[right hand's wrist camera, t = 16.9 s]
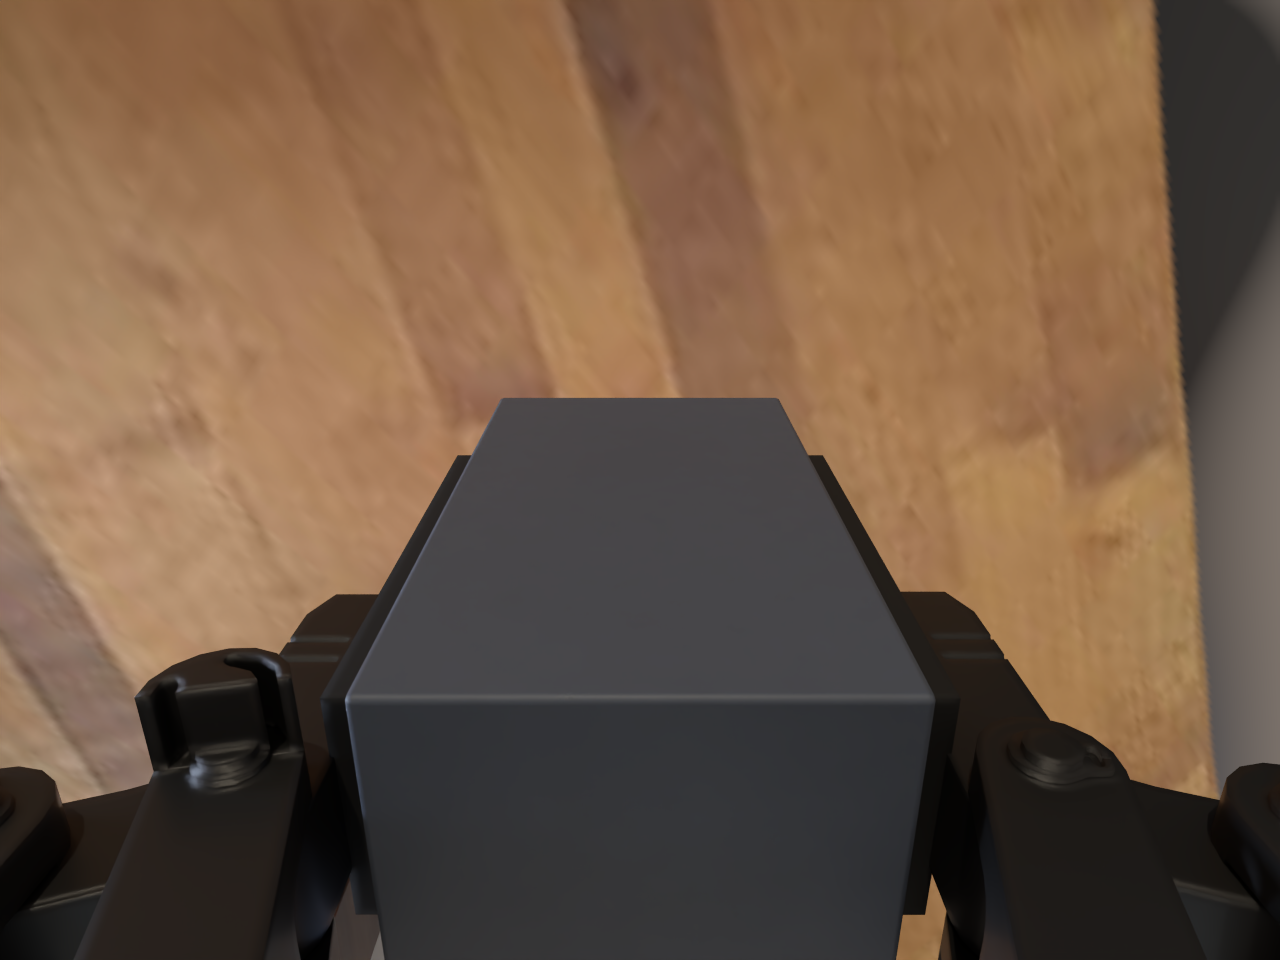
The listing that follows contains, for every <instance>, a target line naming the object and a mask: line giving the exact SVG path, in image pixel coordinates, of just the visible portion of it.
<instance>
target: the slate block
mask: <svg viewBox="0 0 1280 960" xmlns="http://www.w3.org/2000/svg"><path fill="white" fill-rule="evenodd" d="M935 701H936V699H935V696H934V694H933V692H932V690H931V688H930V686H929V684H928V682H927V680H926V679H925V677H924V675H923V673H922V671H921V669H920V667H919V665H918V663H917V661H916V660H915V658H914V656H913V654H912V652H911V650H910V648H909V646H908V644H907V642H906V641H905V639H904V637H903V635H902V633H901V631H900V629H899V627H898V625H897V623H896V622H895V620H894V618H893V616H892V614H891V612H890V610H889V608H888V606H887V604H886V603H885V601H884V599H883V597H882V595H881V593H880V591H879V589H878V587H877V585H876V584H875V582H874V580H873V578H872V576H871V574H870V572H869V570H868V568H867V566H866V565H865V563H864V561H863V559H862V557H861V555H860V553H859V551H858V549H857V547H856V546H855V544H854V542H853V540H852V538H851V536H850V534H849V532H848V530H847V528H846V527H845V525H844V523H843V521H842V519H841V517H840V515H839V513H838V511H837V509H836V508H835V506H834V504H833V502H832V500H831V498H830V496H829V494H828V492H827V490H826V489H825V487H824V485H823V483H822V481H821V479H820V477H819V475H818V473H817V471H816V470H815V468H814V466H813V464H812V462H811V460H810V458H809V456H808V454H807V452H806V451H805V449H804V447H803V445H802V443H801V441H800V439H799V437H798V435H797V433H796V432H795V430H794V428H793V426H792V424H791V422H790V420H789V418H788V416H787V414H786V413H785V411H784V409H783V407H782V405H781V403H780V401H779V399H777V398H503V399H501V400H500V402H499V404H498V406H497V408H496V410H495V412H494V414H493V415H492V417H491V419H490V421H489V423H488V425H487V427H486V429H485V431H484V433H483V435H482V437H481V438H480V440H479V442H478V444H477V446H476V448H475V450H474V452H473V454H472V456H471V458H470V459H469V461H468V463H467V465H466V467H465V469H464V471H463V473H462V475H461V477H460V479H459V481H458V482H457V484H456V486H455V488H454V490H453V492H452V494H451V496H450V498H449V500H448V502H447V504H446V505H445V507H444V509H443V511H442V513H441V515H440V517H439V519H438V521H437V523H436V525H435V526H434V528H433V530H432V532H431V534H430V536H429V538H428V540H427V542H426V544H425V546H424V548H423V549H422V551H421V553H420V555H419V557H418V559H417V561H416V563H415V565H414V567H413V569H412V570H411V572H410V574H409V576H408V578H407V580H406V582H405V584H404V586H403V588H402V590H401V592H400V593H399V595H398V597H397V599H396V601H395V603H394V605H393V607H392V609H391V611H390V613H389V615H388V616H387V618H386V620H385V622H384V624H383V626H382V628H381V630H380V632H379V634H378V636H377V637H376V639H375V641H374V643H373V645H372V647H371V649H370V651H369V653H368V655H367V657H366V659H365V660H364V662H363V664H362V666H361V668H360V670H359V672H358V674H357V676H356V678H355V680H354V682H353V683H352V685H351V687H350V689H349V691H348V693H347V695H346V698H345V705H346V711H347V718H348V724H349V731H350V738H351V744H352V751H353V757H354V764H355V770H356V777H357V783H358V790H359V796H360V803H361V809H362V816H363V822H364V829H365V836H366V842H367V849H368V855H369V862H370V868H371V875H372V881H373V888H374V894H375V901H376V907H377V914H378V921H379V927H380V934H381V940H382V947H383V953H384V960H896V956H897V949H898V942H899V936H900V929H901V923H902V916H903V910H904V903H905V897H906V890H907V884H908V877H909V871H910V864H911V858H912V851H913V845H914V838H915V832H916V825H917V818H918V812H919V805H920V799H921V792H922V786H923V779H924V773H925V766H926V760H927V753H928V747H929V740H930V734H931V727H932V721H933V714H934V708H935Z"/></svg>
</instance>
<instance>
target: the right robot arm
mask: <svg viewBox="0 0 1280 960" xmlns="http://www.w3.org/2000/svg"><path fill="white" fill-rule="evenodd" d="M471 456H472V455H458V456H457V458H456V459H455V461H454V463H453V465H452V466H451V468H450V470H449V472H448V473H447V475H446V477H445V479H444V480H443V482H442V484H441V486H440V487H439V489H438V491H437V493H436V495H435V496H434V498H433V500H432V502H431V503H430V505H429V507H428V509H427V510H426V512H425V514H424V516H423V517H422V519H421V521H420V523H419V524H418V526H417V528H416V530H415V531H414V533H413V535H412V537H411V539H410V540H409V542H408V544H407V546H406V547H405V549H404V551H403V553H402V554H401V556H400V558H399V560H398V561H397V563H396V565H395V567H394V568H393V570H392V572H391V574H390V575H389V577H388V579H387V581H386V583H385V584H384V586H383V588H382V590H381V591H380V593H379V594H336V595H335V596H333V597H332V598H330V599H329V600H327V601H326V602H325V603H323V604H322V605H320V606H319V607H317V608H316V609H314V610H313V611H311V612H310V613H308V614H307V615H306V617H305V618H304V619H303V621H302V622H301V624H300V625H299V627H298V628H297V629H296V631H295V632H294V634H293V635H292V637H291V642H287V644H286V645H285V647H284V648H283V650H282V651H281V653H280V654H279V655H278V654H277V653H274V652H270V651H266V650H262V649H258V648H229V649H224V650H220V651H215V652H210V653H205V654H200V655H198V656H195V657H193V658H190V659H188V660H185V661H183V662H180V663H177V664H175V665H172V666H171V667H169V668H168V669H166V670H165V671H163V672H161V673H160V674H158V675H157V676H155V677H154V678H152V679H151V680H149V681H148V682H147V683H146V685H145V686H144V687H143V688H142V689H141V691H140V692H139V693H138V694H137V695H136V696H135V701H136V705H137V709H138V713H139V717H140V720H141V724H142V728H143V732H144V736H145V740H146V743H147V747H148V751H149V755H150V759H151V763H152V766H153V770H154V773H153V775H152V777H151V780H150V782H149V784H146V785H143V786H139V787H136V788H132V789H128V790H124V791H119V792H115V793H110V794H105V795H101V796H96V797H91V798H87V799H82V800H77V801H73V802H68V803H63V804H62V802H61V798H60V795H59V792H58V789H57V786H56V783H55V781H54V780H53V779H52V778H51V777H49V776H48V775H47V774H46V773H45V772H43V771H42V770H37V769H31V768H25V767H10V768H1V769H0V960H339V953H340V948H339V942H338V935H337V928H336V923H335V917H334V914H335V911H336V909H337V906H338V904H339V901H340V899H341V896H342V894H343V891H344V888H345V886H346V883H347V881H348V878H350V884H351V890H352V896H353V902H354V908H355V914H356V915H378V914H377V907H376V901H375V894H374V888H373V881H372V875H371V868H370V862H369V855H368V849H367V842H366V836H365V829H364V822H363V816H362V809H361V803H360V796H359V790H358V783H357V777H356V770H355V764H354V757H353V751H352V744H351V738H350V731H349V724H348V718H347V711H346V705H345V698H346V695H347V693H348V691H349V689H350V687H351V685H352V683H353V682H354V680H355V678H356V676H357V674H358V672H359V670H360V668H361V666H362V664H363V662H364V660H365V659H366V657H367V655H368V653H369V651H370V649H371V647H372V645H373V643H374V641H375V639H376V637H377V636H378V634H379V632H380V630H381V628H382V626H383V624H384V622H385V620H386V618H387V616H388V615H389V613H390V611H391V609H392V607H393V605H394V603H395V601H396V599H397V597H398V595H399V593H400V592H401V590H402V588H403V586H404V584H405V582H406V580H407V578H408V576H409V574H410V572H411V570H412V569H413V567H414V565H415V563H416V561H417V559H418V557H419V555H420V553H421V551H422V549H423V548H424V546H425V544H426V542H427V540H428V538H429V536H430V534H431V532H432V530H433V528H434V526H435V525H436V523H437V521H438V519H439V517H440V515H441V513H442V511H443V509H444V507H445V505H446V504H447V502H448V500H449V498H450V496H451V494H452V492H453V490H454V488H455V486H456V484H457V482H458V481H459V479H460V477H461V475H462V473H463V471H464V469H465V467H466V465H467V463H468V461H469V459H470V458H471ZM808 456H809V458H810V460H811V462H812V464H813V466H814V468H815V470H816V471H817V473H818V475H819V477H820V479H821V481H822V483H823V485H824V487H825V489H826V490H827V492H828V494H829V496H830V498H831V500H832V502H833V504H834V506H835V508H836V509H837V511H838V513H839V515H840V517H841V519H842V521H843V523H844V525H845V527H846V528H847V530H848V532H849V534H850V536H851V538H852V540H853V542H854V544H855V546H856V547H857V549H858V551H859V553H860V555H861V557H862V559H863V561H864V563H865V565H866V566H867V568H868V570H869V572H870V574H871V576H872V578H873V580H874V582H875V584H876V585H877V587H878V589H879V591H880V593H881V595H882V597H883V599H884V601H885V603H886V604H887V606H888V608H889V610H890V612H891V614H892V616H893V618H894V620H895V622H896V623H897V625H898V627H899V629H900V631H901V633H902V635H903V637H904V639H905V641H906V642H907V644H908V646H909V648H910V650H911V652H912V654H913V656H914V658H915V660H916V661H917V663H918V665H919V667H920V669H921V671H922V673H923V675H924V677H925V679H926V680H927V682H928V684H929V686H930V688H931V690H932V692H933V694H934V696H935V699H936V701H935V708H934V714H933V721H932V727H931V734H930V740H929V747H928V753H927V760H926V766H925V773H924V779H923V786H922V792H921V799H920V805H919V812H918V818H917V825H916V832H915V838H914V845H913V851H912V858H911V864H910V871H909V877H908V884H907V890H906V897H905V903H904V910H903V915H925V911H926V905H927V899H928V893H929V887H930V881H931V875H933V877H934V880H935V883H936V885H937V888H938V890H939V893H940V895H941V898H942V900H943V903H944V905H945V908H946V910H947V912H946V917H945V923H944V928H943V934H942V940H941V945H940V951H939V956H938V960H1280V765H1278V764H1269V763H1259V764H1253V765H1247V766H1241V767H1239V768H1238V769H1236V770H1235V771H1234V772H1233V773H1232V774H1231V775H1229V776H1228V777H1227V779H1226V782H1225V785H1224V788H1223V792H1222V795H1221V798H1220V800H1216V799H1211V798H1207V797H1202V796H1197V795H1192V794H1188V793H1183V792H1178V791H1174V790H1169V789H1164V788H1160V787H1155V786H1151V785H1148V784H1144V783H1141V782H1137V781H1133V780H1130V778H1129V776H1128V774H1127V771H1126V770H1125V768H1124V767H1123V766H1122V764H1121V763H1120V761H1119V760H1118V759H1117V757H1116V756H1115V754H1114V753H1113V752H1112V751H1111V750H1109V749H1108V748H1107V747H1105V746H1104V745H1103V744H1101V743H1100V742H1098V741H1097V740H1096V739H1094V738H1093V737H1092V736H1090V735H1088V734H1086V733H1083V732H1081V731H1079V730H1077V729H1075V728H1072V727H1070V726H1068V725H1066V724H1063V723H1058V722H1054V721H1050V719H1049V718H1048V717H1047V715H1046V714H1045V712H1044V711H1043V709H1042V708H1041V707H1040V705H1039V704H1038V702H1037V701H1036V699H1035V698H1034V697H1033V695H1032V694H1031V692H1030V691H1029V689H1028V688H1027V687H1026V685H1025V684H1024V682H1023V681H1022V679H1021V678H1020V677H1019V675H1018V674H1017V672H1016V671H1015V669H1014V668H1013V667H1012V665H1011V664H1010V662H1009V661H1008V659H1004V654H1003V652H1002V651H1001V649H1000V648H999V647H998V645H997V644H996V642H995V641H994V640H991V638H990V634H989V632H988V631H987V629H986V628H985V626H984V625H983V624H982V622H981V621H980V619H979V618H978V616H977V615H976V614H975V612H974V611H972V610H971V609H969V608H968V607H966V606H965V605H963V604H962V603H961V602H959V601H958V600H956V599H955V598H953V597H952V596H950V595H949V594H947V593H946V592H900V590H899V589H898V587H897V585H896V583H895V581H894V580H893V578H892V576H891V574H890V573H889V571H888V569H887V567H886V566H885V564H884V562H883V560H882V559H881V557H880V555H879V553H878V552H877V550H876V548H875V546H874V545H873V543H872V541H871V539H870V538H869V536H868V534H867V532H866V530H865V529H864V527H863V525H862V523H861V522H860V520H859V518H858V516H857V515H856V513H855V511H854V509H853V508H852V506H851V504H850V502H849V501H848V499H847V497H846V495H845V494H844V492H843V490H842V488H841V487H840V485H839V483H838V481H837V479H836V478H835V476H834V474H833V472H832V471H831V469H830V467H829V465H828V464H827V462H826V460H825V458H824V457H823V455H808Z"/></svg>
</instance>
